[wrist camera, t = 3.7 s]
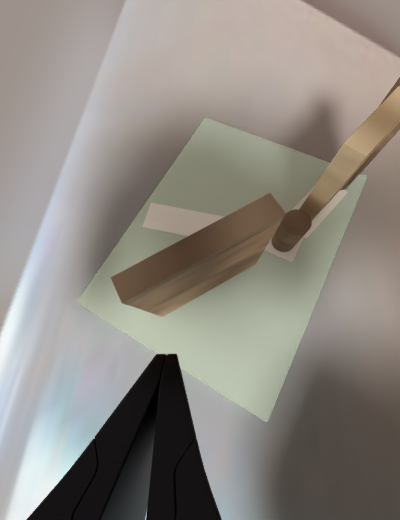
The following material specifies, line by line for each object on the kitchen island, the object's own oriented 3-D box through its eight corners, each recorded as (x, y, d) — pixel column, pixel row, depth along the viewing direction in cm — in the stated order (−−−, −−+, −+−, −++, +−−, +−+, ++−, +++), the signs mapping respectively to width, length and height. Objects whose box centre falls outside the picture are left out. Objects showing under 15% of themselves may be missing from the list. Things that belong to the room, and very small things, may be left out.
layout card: (364, 179, 20) (368, 175, 20) (266, 420, 15) (267, 423, 15) (205, 120, 23) (205, 116, 23) (79, 303, 18) (75, 301, 18)
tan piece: (353, 181, 20) (451, 72, 12) (284, 257, 18) (342, 191, 10) (334, 169, 20) (416, 57, 12) (266, 242, 18) (307, 169, 10)
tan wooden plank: (247, 251, 18) (270, 192, 10) (256, 264, 17) (286, 213, 10) (155, 302, 17) (110, 277, 10) (162, 317, 17) (121, 303, 9)
